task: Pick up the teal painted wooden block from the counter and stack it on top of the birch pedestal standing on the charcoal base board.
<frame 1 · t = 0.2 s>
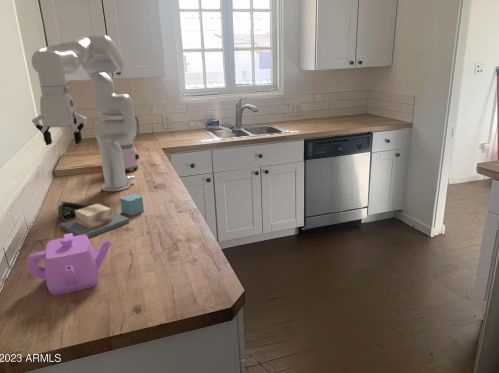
hand: (63, 143, 132), 31 cm above the worktop, tool pointing down, fingers open, 9 cm apart
blender: (129, 169, 213), on the worktop
teakettle: (76, 280, 108), on the worktop
stacking base: (95, 224, 143), on the worktop
chocolate cake: (73, 215, 154), on the worktop
teal block: (132, 211, 155), on the worktop
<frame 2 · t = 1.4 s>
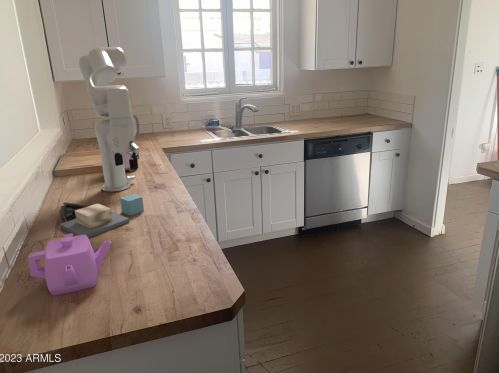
hand: (126, 167, 149), 18 cm above the worktop, tool pointing down, fingers open, 9 cm apart
chocolate cake: (75, 216, 153), on the worktop
everything else where it was.
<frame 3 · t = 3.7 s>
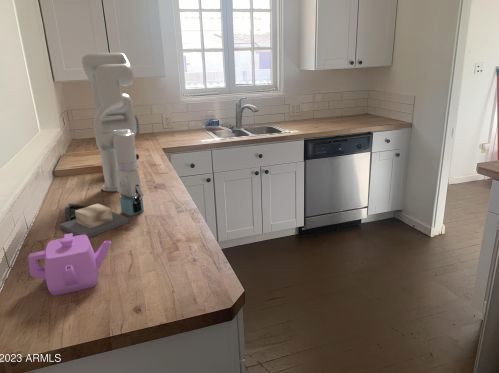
hand: (132, 209, 155), 1 cm above the worktop, tool pointing down, fingers closed on teal block, 6 cm apart
chocolate cake: (79, 217, 151), on the worktop
teal block: (132, 211, 155), on the worktop, touching gripper
everything else where it was.
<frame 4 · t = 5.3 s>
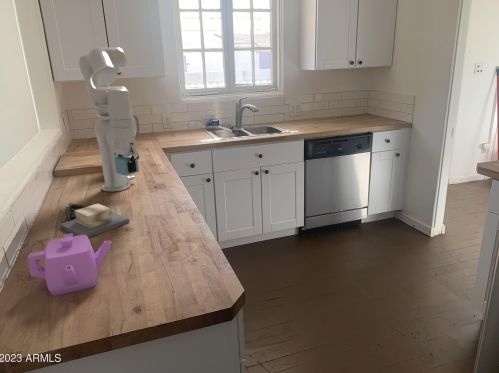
hand: (127, 170, 150), 17 cm above the worktop, tool pointing down, fingers closed on teal block, 6 cm apart
teal block: (127, 172, 150), point 16 cm above the worktop, touching gripper
everything else where it was.
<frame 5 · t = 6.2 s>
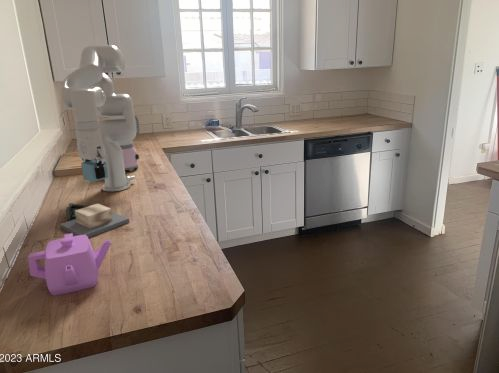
hand: (95, 176, 140), 18 cm above the worktop, tool pointing down, fingers closed on teal block, 6 cm apart
chocolate cake: (81, 217, 151), on the worktop, touching stacking base
teal block: (96, 178, 140), point 17 cm above the worktop, touching gripper
everything else where it was.
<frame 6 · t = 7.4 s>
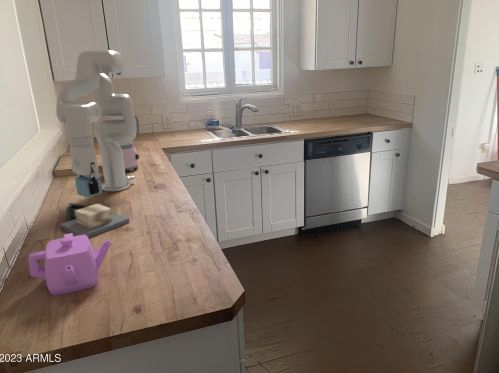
hand: (89, 191, 139), 13 cm above the worktop, tool pointing down, fingers closed on teal block, 6 cm apart
chocolate cake: (81, 217, 151), on the worktop
teal block: (90, 193, 139), point 12 cm above the worktop, touching gripper
everything else where it was.
when the fingers open (8 cm above the worktop, at t = 8.7 s): teal block drops 1 cm, resting on stacking base.
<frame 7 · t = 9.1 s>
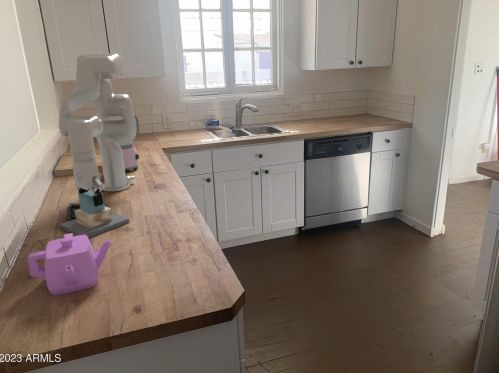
hand: (91, 202, 141), 9 cm above the worktop, tool pointing down, fingers open, 9 cm apart
teal block: (92, 209, 141), point 6 cm above the worktop, touching stacking base
everything else where it was.
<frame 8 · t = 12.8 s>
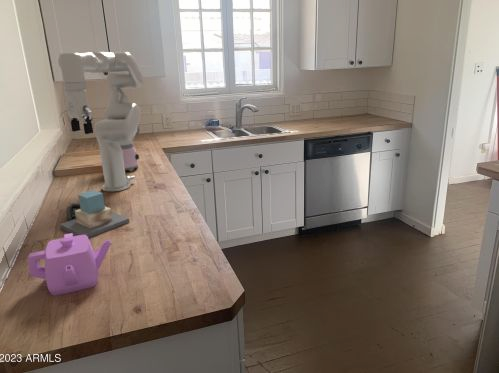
hand: (82, 132, 154), 30 cm above the worktop, tool pointing down, fingers open, 9 cm apart
nothing on the worktop moved.
at the end: teal block 0.1 cm off-centre on the stacking base, point 6.0 cm above the stacking base's base; teal block tilted 0°; the gripper is holding nothing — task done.
